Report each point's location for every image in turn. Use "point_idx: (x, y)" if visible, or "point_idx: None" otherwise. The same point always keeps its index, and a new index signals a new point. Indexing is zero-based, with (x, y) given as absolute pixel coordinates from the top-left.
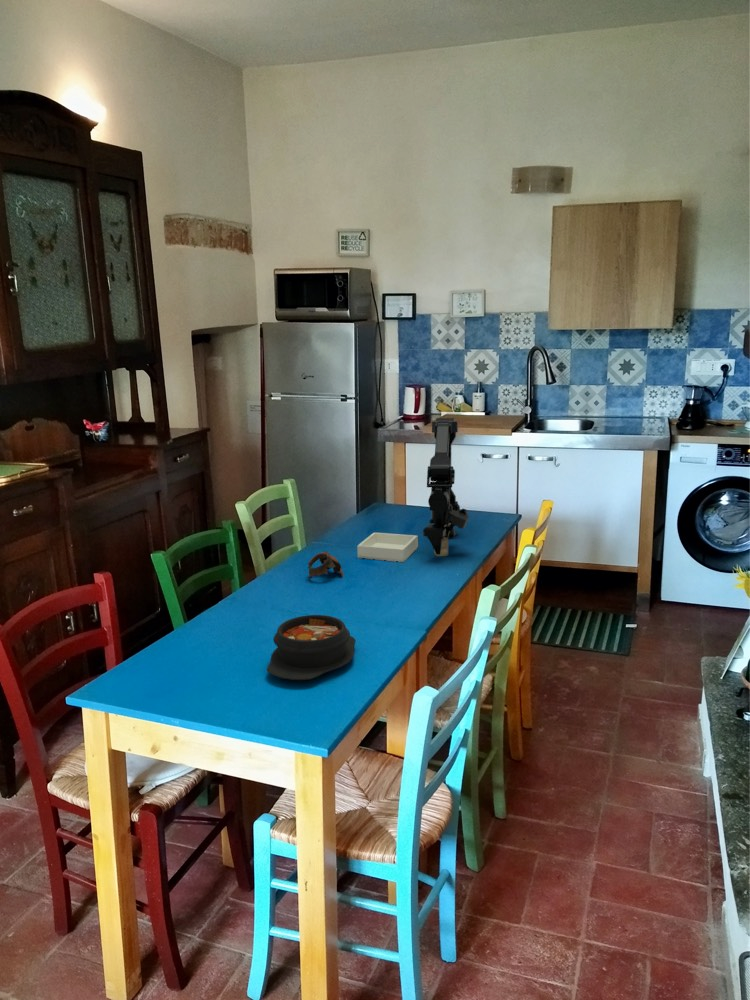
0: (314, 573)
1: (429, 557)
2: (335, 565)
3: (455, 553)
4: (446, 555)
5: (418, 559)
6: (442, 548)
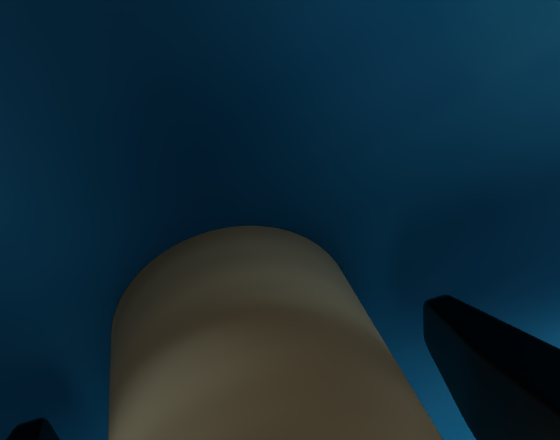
0: None
1: None
2: None
3: (44, 154)
4: (270, 229)
5: None
6: (394, 361)
